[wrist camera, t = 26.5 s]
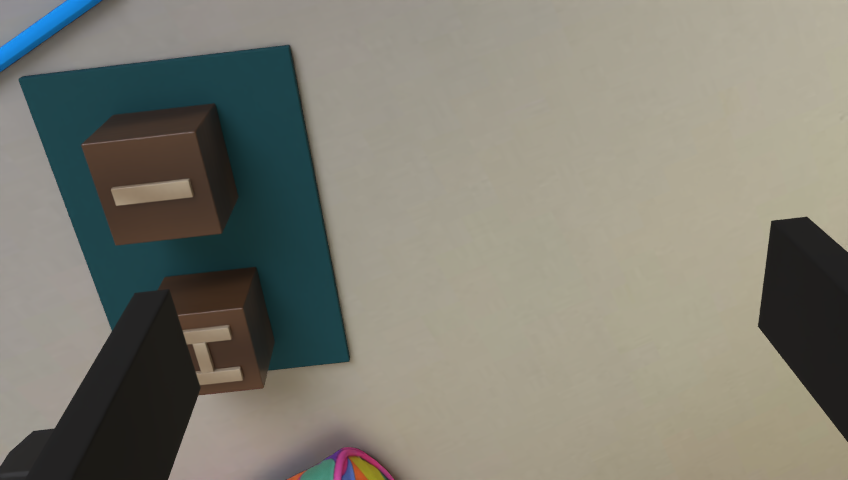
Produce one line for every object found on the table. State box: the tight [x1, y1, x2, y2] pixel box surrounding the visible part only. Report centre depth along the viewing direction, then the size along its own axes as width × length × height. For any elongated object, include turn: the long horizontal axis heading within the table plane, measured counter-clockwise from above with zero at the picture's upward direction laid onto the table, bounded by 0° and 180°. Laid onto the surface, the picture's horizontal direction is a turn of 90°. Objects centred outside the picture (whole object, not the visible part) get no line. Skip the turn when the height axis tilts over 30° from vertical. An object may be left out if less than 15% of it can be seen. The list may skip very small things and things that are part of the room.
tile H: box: [158, 267, 275, 395], centre depth 42 cm, size 6×6×5 cm
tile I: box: [81, 103, 238, 245], centre depth 38 cm, size 6×6×5 cm
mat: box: [19, 45, 350, 371], centre depth 42 cm, size 20×14×1 cm
